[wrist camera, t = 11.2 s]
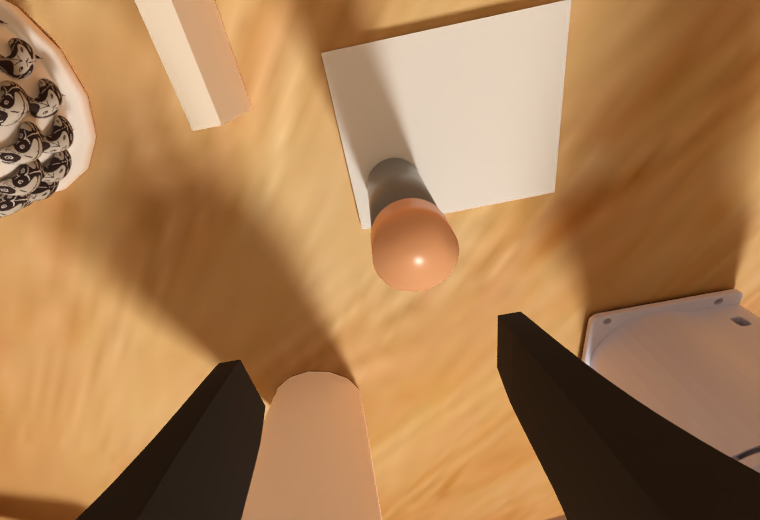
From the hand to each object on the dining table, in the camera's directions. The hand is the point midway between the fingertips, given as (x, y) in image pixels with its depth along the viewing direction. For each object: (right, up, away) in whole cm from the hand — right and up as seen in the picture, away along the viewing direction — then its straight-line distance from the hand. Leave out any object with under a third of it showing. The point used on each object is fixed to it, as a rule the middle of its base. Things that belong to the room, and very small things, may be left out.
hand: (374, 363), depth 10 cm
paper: (+3, +9, +6) cm, 11 cm away
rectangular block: (-6, +11, +4) cm, 14 cm away
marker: (+1, +7, +7) cm, 10 cm away
